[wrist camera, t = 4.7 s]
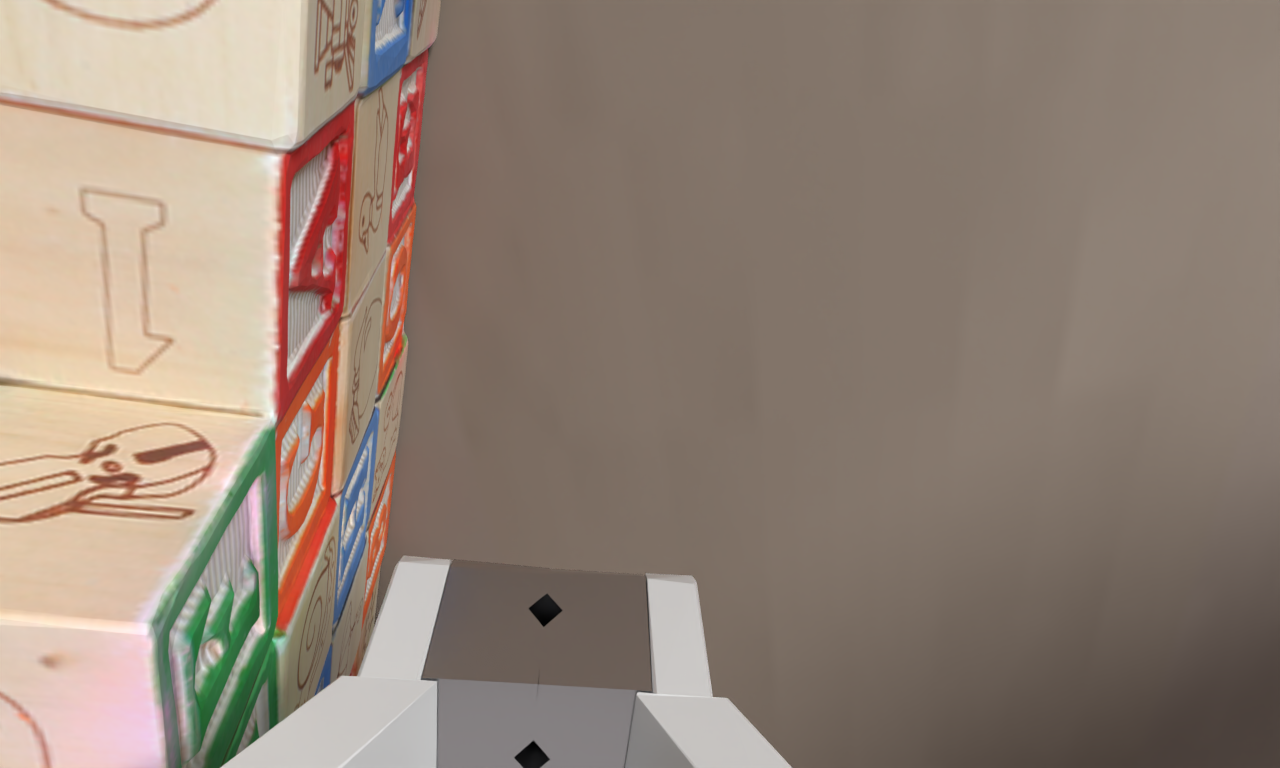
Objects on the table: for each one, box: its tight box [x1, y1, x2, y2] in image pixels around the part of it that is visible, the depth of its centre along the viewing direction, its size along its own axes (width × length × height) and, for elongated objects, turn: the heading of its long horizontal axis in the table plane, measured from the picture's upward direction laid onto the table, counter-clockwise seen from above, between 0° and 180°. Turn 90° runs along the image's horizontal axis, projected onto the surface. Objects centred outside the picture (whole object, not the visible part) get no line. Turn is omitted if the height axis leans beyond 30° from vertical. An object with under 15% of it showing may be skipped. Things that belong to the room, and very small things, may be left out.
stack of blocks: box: [0, 0, 441, 768], centre depth 12 cm, size 21×6×12 cm, turn 168°
